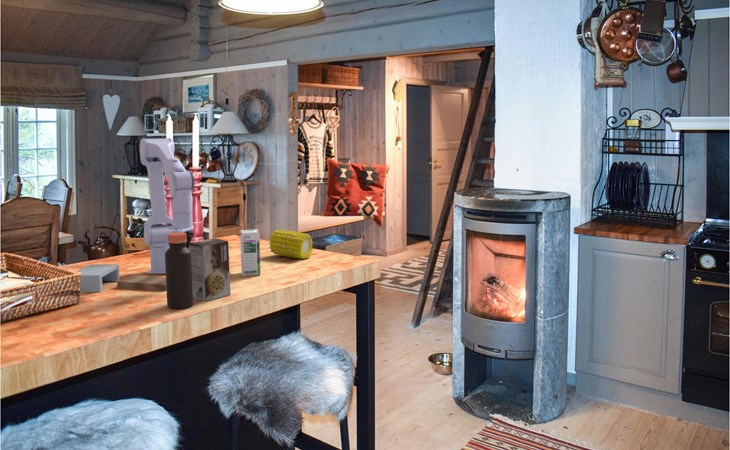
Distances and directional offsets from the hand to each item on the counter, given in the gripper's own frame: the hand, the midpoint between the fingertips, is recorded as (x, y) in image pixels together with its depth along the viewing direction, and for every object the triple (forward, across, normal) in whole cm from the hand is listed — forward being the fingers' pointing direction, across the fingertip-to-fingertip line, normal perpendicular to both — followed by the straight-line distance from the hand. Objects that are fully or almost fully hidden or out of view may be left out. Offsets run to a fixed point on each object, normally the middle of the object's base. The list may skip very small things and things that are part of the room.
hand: (184, 256), depth 195 cm
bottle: (+10, +20, +3) cm, 23 cm away
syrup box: (+10, -17, +18) cm, 26 cm away
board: (+10, -2, -12) cm, 15 cm away
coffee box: (+10, +11, +10) cm, 17 cm away
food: (+10, -42, +30) cm, 52 cm away
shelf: (+9, -3, -28) cm, 29 cm away
